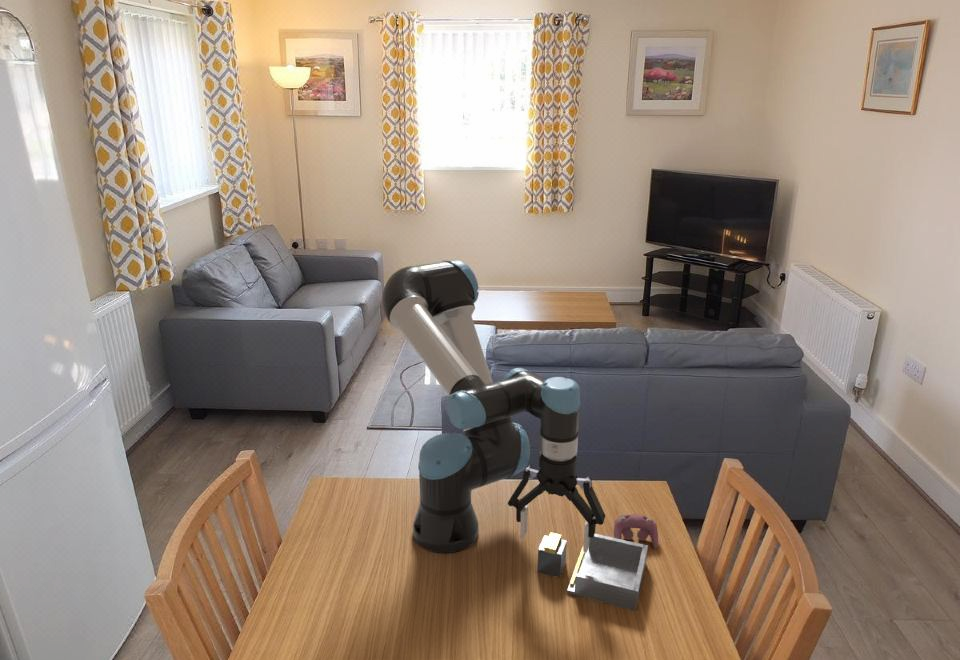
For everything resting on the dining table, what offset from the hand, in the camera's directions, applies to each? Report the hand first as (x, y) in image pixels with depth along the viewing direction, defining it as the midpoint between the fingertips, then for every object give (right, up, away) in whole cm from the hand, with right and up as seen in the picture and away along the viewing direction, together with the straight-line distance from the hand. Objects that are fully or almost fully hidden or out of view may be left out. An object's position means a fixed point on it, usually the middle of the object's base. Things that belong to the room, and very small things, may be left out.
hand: (554, 541), depth 146 cm
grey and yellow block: (0, -7, +3) cm, 7 cm away
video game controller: (+20, -4, +12) cm, 23 cm away
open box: (+11, -8, 0) cm, 14 cm away
